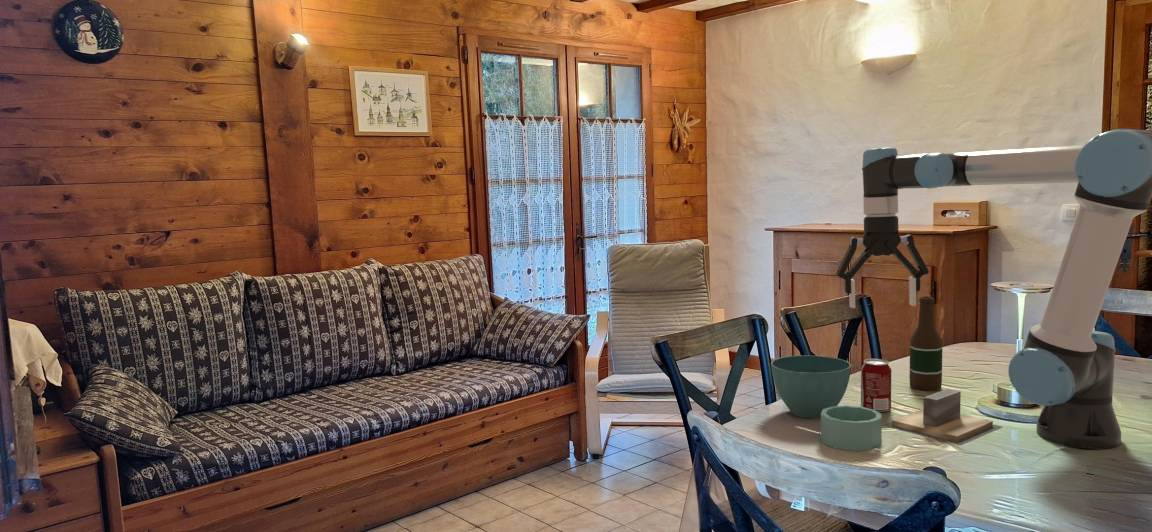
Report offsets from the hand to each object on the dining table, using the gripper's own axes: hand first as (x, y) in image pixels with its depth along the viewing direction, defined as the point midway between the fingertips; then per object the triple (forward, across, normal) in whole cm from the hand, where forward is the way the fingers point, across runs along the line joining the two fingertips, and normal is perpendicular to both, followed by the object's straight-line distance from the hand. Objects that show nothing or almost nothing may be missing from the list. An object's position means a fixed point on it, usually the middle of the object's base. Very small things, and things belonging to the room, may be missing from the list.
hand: (882, 306), depth 188 cm
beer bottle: (+26, -16, -23) cm, 38 cm away
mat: (+26, -10, +11) cm, 30 cm away
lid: (+26, -10, +11) cm, 29 cm away
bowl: (+26, +12, +20) cm, 35 cm away
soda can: (+26, +1, -2) cm, 26 cm away
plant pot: (+26, +17, 0) cm, 31 cm away
